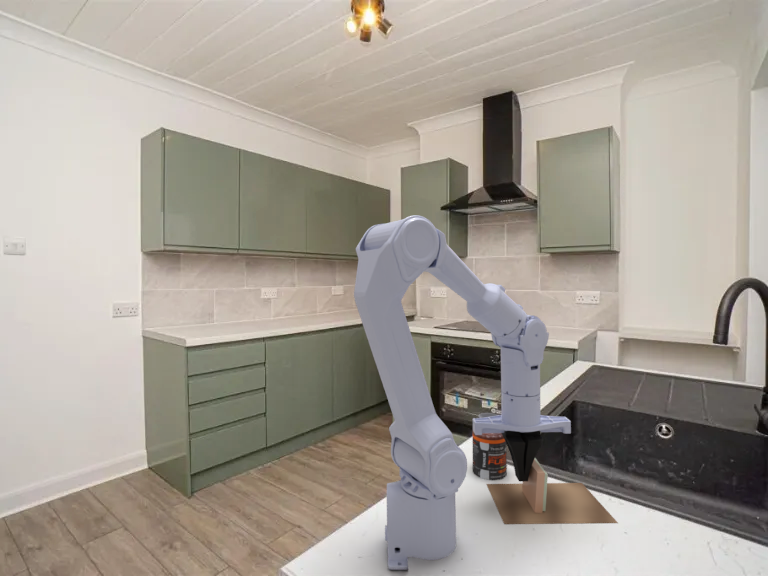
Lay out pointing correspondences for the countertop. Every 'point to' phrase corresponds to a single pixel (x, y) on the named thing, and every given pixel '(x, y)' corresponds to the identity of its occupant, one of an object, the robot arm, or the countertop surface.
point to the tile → (536, 487)
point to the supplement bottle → (489, 454)
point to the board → (550, 505)
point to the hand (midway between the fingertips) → (521, 478)
